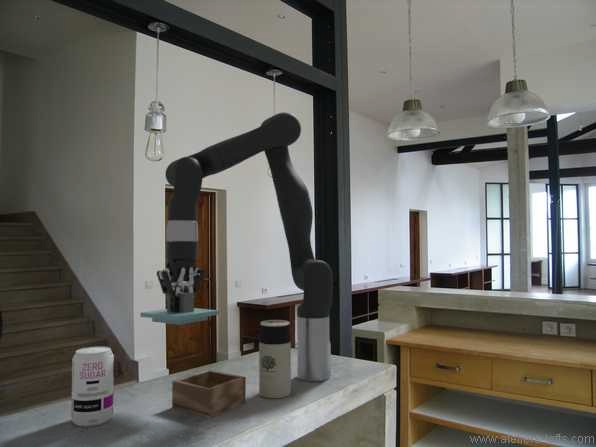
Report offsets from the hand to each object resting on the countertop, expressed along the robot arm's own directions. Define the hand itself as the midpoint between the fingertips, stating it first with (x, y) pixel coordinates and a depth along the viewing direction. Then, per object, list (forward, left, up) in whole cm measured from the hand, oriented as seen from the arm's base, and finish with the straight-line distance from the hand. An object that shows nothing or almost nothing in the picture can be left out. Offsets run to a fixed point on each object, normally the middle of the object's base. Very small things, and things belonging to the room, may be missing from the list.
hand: (180, 311), depth 113 cm
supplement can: (+18, -7, -22) cm, 29 cm away
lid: (0, 0, -2) cm, 2 cm away
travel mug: (-18, +15, -22) cm, 32 cm away
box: (-3, +7, -22) cm, 23 cm away
